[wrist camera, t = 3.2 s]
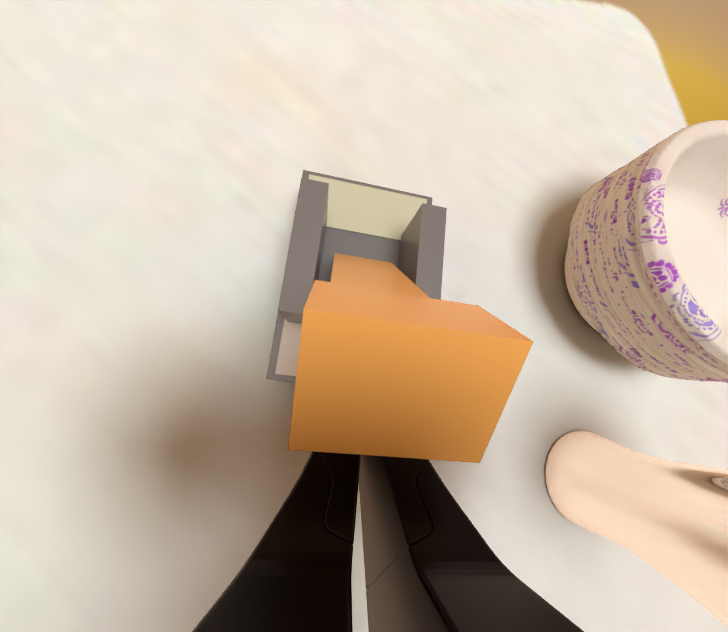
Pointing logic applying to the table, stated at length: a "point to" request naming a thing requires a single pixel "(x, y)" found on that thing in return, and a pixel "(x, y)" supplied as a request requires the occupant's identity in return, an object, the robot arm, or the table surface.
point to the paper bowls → (659, 256)
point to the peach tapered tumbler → (648, 510)
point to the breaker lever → (399, 368)
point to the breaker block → (352, 247)
